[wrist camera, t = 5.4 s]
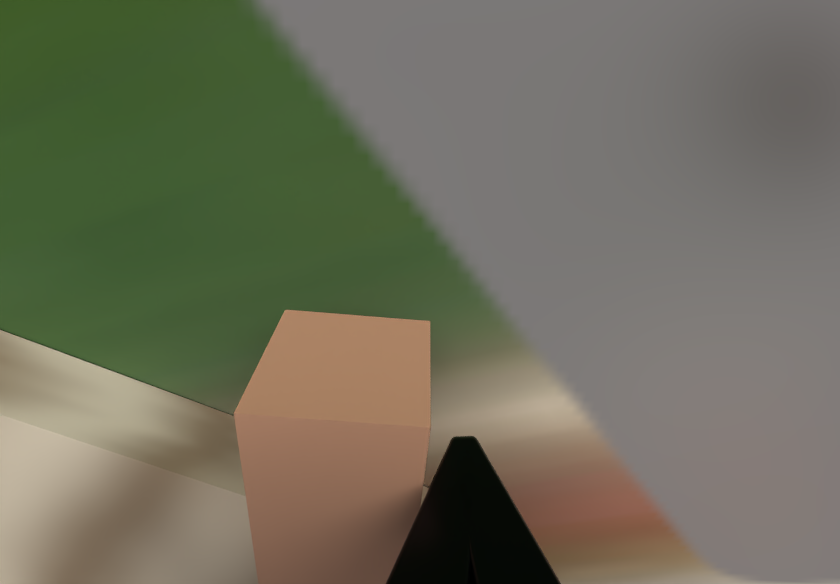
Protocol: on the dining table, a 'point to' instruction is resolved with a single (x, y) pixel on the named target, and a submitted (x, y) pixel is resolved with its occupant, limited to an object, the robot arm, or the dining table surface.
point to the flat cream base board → (114, 479)
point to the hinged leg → (335, 446)
